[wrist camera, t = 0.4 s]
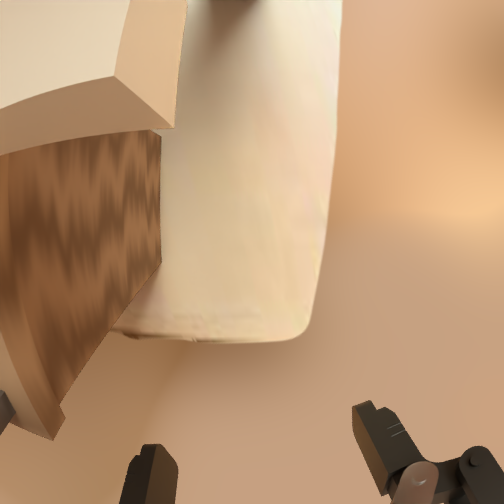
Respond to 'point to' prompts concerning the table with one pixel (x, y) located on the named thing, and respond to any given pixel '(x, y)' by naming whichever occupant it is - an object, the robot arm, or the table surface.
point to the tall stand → (70, 261)
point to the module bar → (87, 68)
